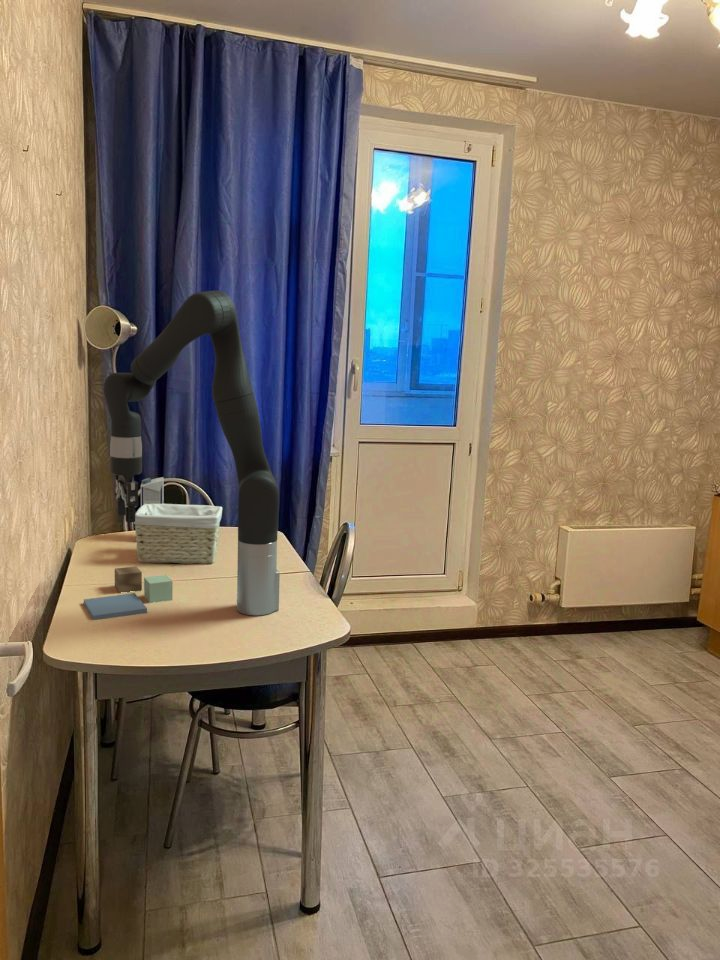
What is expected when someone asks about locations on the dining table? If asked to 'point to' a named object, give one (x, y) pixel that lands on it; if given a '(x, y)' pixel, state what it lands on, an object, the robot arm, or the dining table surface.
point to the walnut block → (128, 579)
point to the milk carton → (152, 491)
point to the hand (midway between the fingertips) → (126, 518)
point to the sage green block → (158, 588)
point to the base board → (114, 606)
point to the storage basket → (177, 533)
